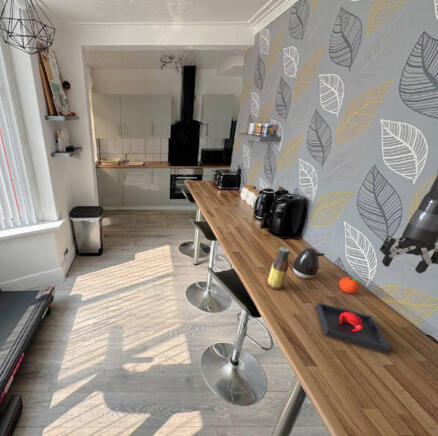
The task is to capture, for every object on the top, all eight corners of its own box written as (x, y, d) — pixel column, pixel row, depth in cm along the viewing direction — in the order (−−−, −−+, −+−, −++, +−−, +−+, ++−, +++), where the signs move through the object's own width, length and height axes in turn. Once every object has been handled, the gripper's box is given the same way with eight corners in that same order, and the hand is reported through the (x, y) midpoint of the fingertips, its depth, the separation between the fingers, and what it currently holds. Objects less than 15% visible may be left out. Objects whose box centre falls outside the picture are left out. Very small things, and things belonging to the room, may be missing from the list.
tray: (368, 321, 91) (371, 316, 90) (387, 353, 78) (391, 348, 77) (316, 307, 97) (318, 302, 96) (325, 335, 84) (328, 330, 83)
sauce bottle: (273, 280, 112) (285, 244, 104) (284, 288, 107) (297, 251, 99) (263, 283, 110) (274, 246, 102) (274, 291, 104) (286, 253, 96)
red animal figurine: (335, 316, 92) (340, 304, 89) (354, 321, 90) (360, 309, 87) (341, 332, 85) (347, 319, 83) (361, 338, 83) (368, 325, 80)
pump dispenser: (315, 284, 110) (326, 257, 104) (290, 276, 115) (299, 250, 109) (314, 273, 118) (324, 247, 112) (291, 266, 123) (299, 241, 117)
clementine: (351, 287, 109) (357, 274, 106) (362, 297, 103) (369, 284, 100) (333, 285, 110) (338, 273, 107) (343, 295, 104) (349, 283, 101)
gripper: (403, 225, 71) (380, 269, 78) (468, 235, 66) (437, 281, 73) (390, 216, 77) (370, 257, 84) (449, 224, 73) (422, 267, 79)
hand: (401, 268), depth 78 cm, fingers open, 8 cm apart
